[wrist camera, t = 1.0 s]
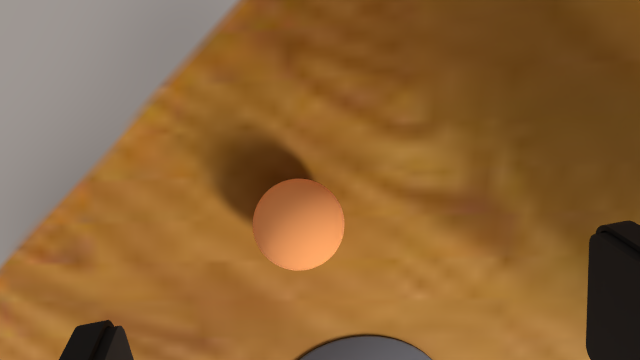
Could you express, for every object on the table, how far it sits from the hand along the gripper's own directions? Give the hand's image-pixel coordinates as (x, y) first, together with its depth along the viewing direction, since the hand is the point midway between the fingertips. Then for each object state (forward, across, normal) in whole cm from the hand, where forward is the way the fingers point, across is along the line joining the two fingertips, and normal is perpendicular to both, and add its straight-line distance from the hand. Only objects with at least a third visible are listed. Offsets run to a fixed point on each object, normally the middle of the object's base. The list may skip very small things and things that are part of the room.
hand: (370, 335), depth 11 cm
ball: (+21, +1, +7) cm, 22 cm away
